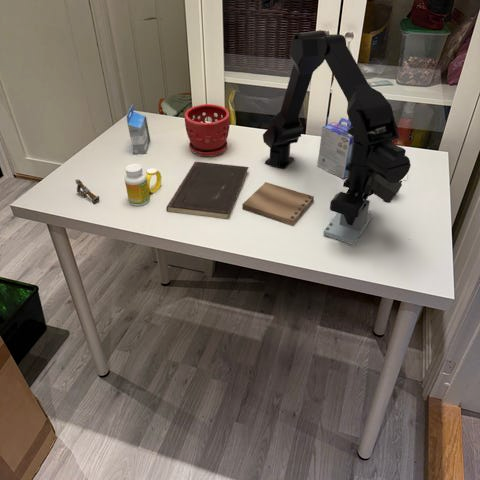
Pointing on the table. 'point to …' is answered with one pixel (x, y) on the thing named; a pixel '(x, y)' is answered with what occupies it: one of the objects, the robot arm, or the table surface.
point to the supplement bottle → (136, 185)
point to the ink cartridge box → (335, 148)
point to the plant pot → (207, 129)
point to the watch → (158, 182)
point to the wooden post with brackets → (85, 191)
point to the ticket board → (278, 203)
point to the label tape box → (138, 131)
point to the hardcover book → (208, 190)
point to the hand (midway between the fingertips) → (353, 219)
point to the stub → (348, 226)
